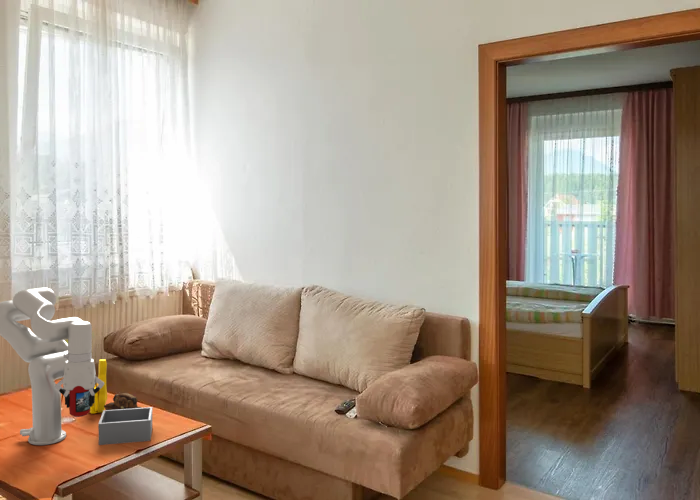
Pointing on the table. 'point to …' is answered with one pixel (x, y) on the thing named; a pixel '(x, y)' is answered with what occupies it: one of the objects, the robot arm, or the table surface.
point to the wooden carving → (122, 402)
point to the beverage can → (79, 401)
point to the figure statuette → (102, 393)
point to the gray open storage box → (125, 426)
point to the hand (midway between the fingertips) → (79, 405)
